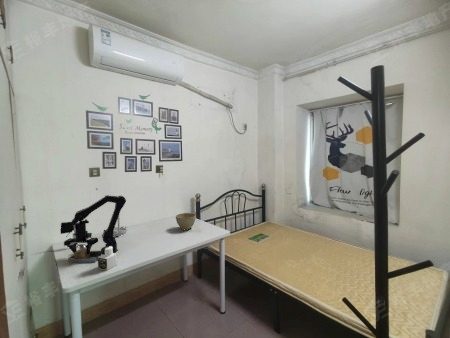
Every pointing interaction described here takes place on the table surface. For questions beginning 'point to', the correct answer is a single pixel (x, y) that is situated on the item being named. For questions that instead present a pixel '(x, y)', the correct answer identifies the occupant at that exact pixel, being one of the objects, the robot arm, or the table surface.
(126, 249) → the table surface
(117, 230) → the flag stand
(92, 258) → the bay
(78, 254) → the brown block
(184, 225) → the flower pot
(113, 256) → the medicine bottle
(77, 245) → the human figurine
